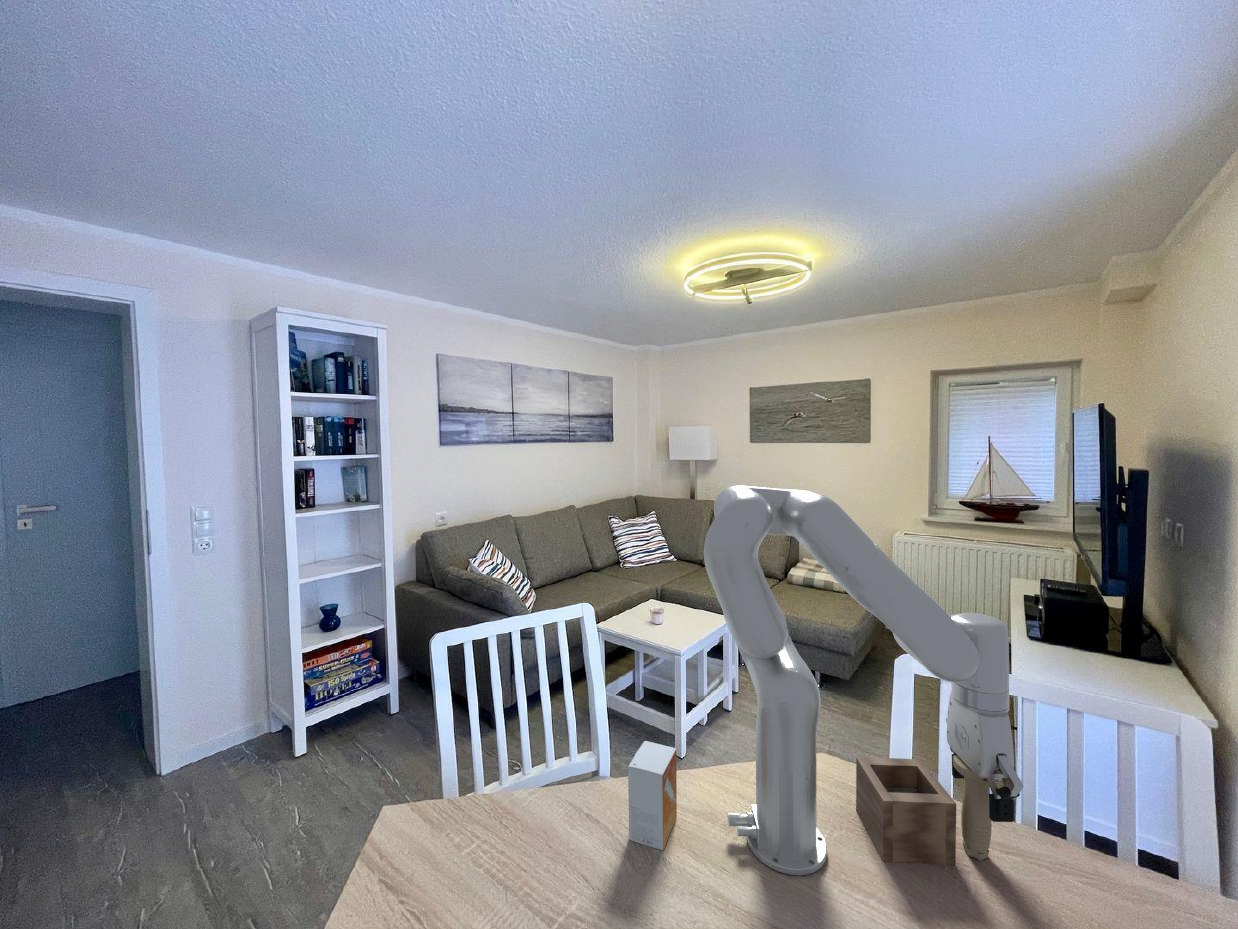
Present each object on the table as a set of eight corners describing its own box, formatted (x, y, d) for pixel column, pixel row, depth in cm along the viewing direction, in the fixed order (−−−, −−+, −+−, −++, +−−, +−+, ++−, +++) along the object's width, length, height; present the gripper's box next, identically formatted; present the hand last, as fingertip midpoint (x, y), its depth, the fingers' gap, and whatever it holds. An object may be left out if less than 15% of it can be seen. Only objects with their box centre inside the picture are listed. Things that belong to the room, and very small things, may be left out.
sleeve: (882, 861, 80) (883, 800, 80) (856, 810, 91) (856, 757, 90) (955, 865, 79) (956, 803, 79) (919, 813, 90) (920, 759, 90)
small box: (663, 852, 83) (662, 775, 82) (628, 840, 85) (626, 766, 84) (678, 818, 90) (677, 747, 89) (644, 808, 93) (643, 739, 92)
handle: (1006, 868, 78) (1008, 775, 78) (961, 863, 79) (962, 771, 79) (989, 844, 83) (991, 756, 82) (946, 839, 84) (948, 752, 83)
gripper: (926, 669, 89) (927, 763, 90) (990, 724, 72) (991, 840, 72) (970, 669, 88) (972, 763, 89) (1046, 724, 71) (1047, 841, 72)
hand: (980, 797), depth 81 cm, fingers open, 9 cm apart
